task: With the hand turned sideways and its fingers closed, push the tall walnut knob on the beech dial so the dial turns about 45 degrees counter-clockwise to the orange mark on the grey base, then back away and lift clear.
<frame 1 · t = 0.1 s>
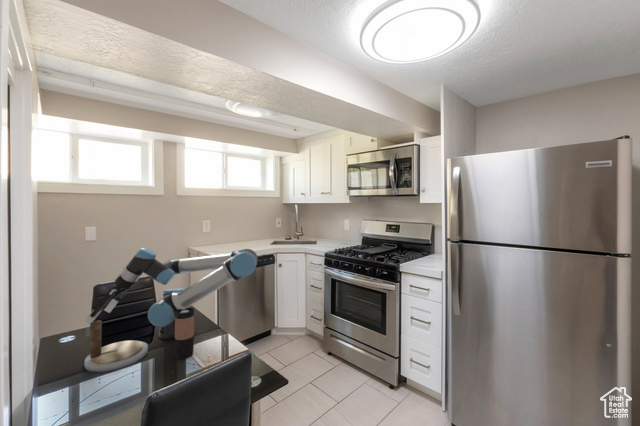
hand: (97, 316, 125), 15 cm above the table, tool tilted 35°, fingers open, 13 cm apart
travel mug: (184, 356, 120), on the table
dial: (117, 335, 118), point 10 cm above the table, hinge at 0.0°
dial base: (117, 357, 118), on the table
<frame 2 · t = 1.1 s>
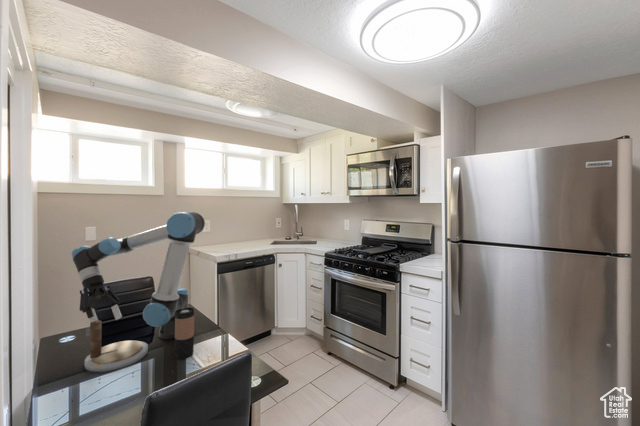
hand: (107, 321, 122), 14 cm above the table, tool tilted 30°, fingers open, 12 cm apart
dial: (117, 335, 118), point 10 cm above the table, hinge at 1.8°, touching gripper
everything else where it was.
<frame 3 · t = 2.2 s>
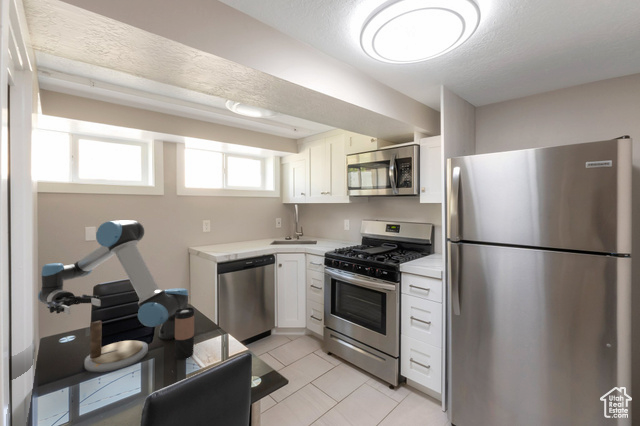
hand: (84, 306, 118), 22 cm above the table, tool horizontal, fingers open, 10 cm apart
dial: (117, 335, 118), point 10 cm above the table, hinge at 4.4°
everything else where it was.
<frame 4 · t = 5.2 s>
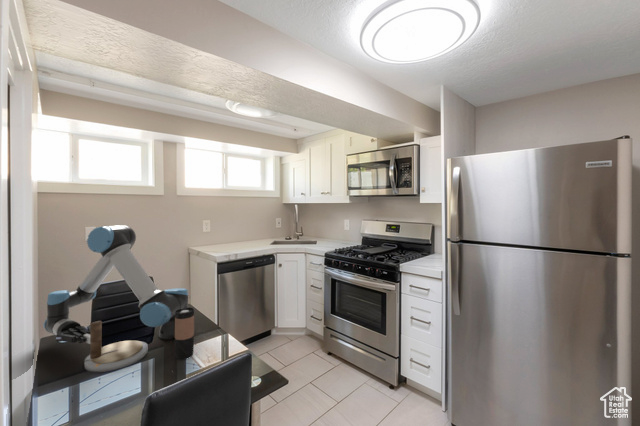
hand: (92, 340, 113), 9 cm above the table, tool horizontal, fingers closed
dial: (117, 335, 118), point 10 cm above the table, hinge at 7.0°, touching gripper
everything else where it was.
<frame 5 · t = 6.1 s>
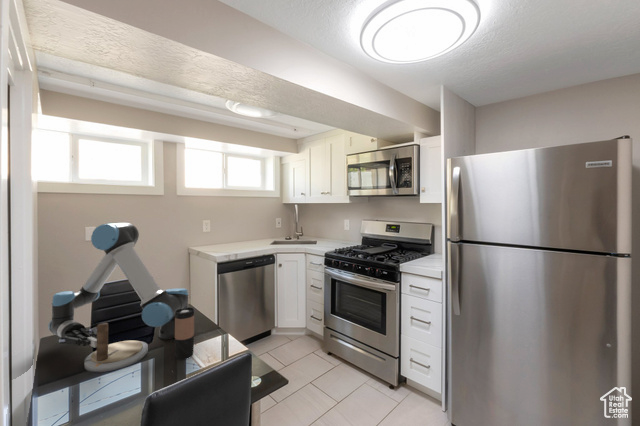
hand: (96, 343, 111), 9 cm above the table, tool horizontal, fingers closed
dial: (117, 335, 118), point 10 cm above the table, hinge at 43.0°, touching gripper
everything else where it was.
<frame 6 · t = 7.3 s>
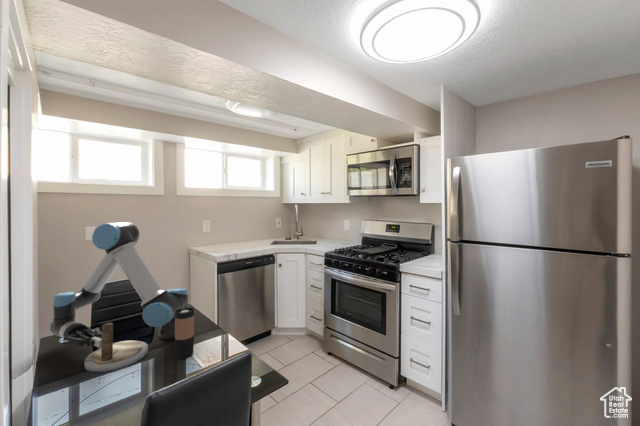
hand: (101, 343, 111), 9 cm above the table, tool horizontal, fingers closed
dial: (117, 335, 118), point 10 cm above the table, hinge at 57.5°
everything else where it was.
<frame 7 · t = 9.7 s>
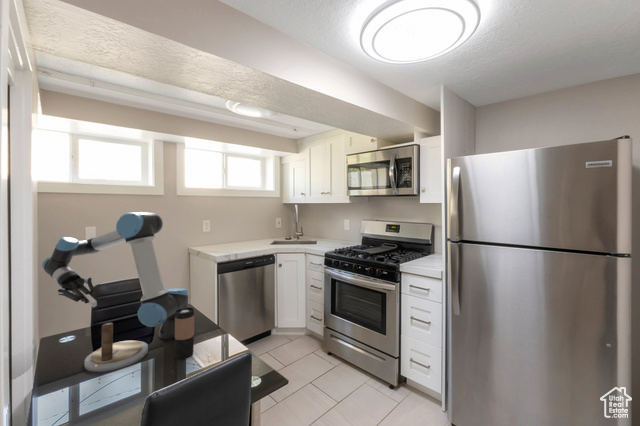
hand: (94, 304, 122), 22 cm above the table, tool tilted 65°, fingers closed
nothing on the table moved.
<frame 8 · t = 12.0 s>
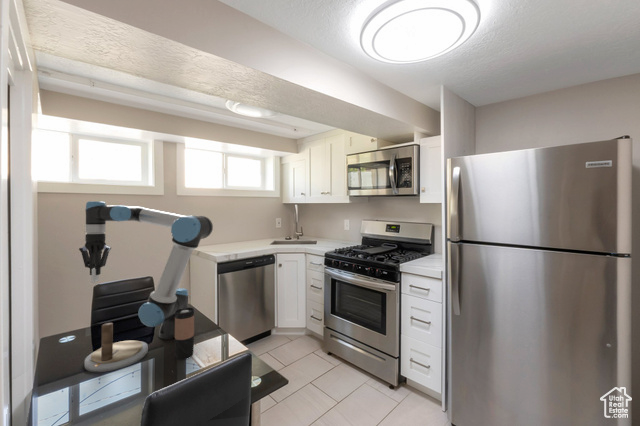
hand: (95, 281, 132), 29 cm above the table, tool pointing down, fingers closed
nothing on the table moved.
at the end: dial at +58° (first picture: +0°) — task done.
